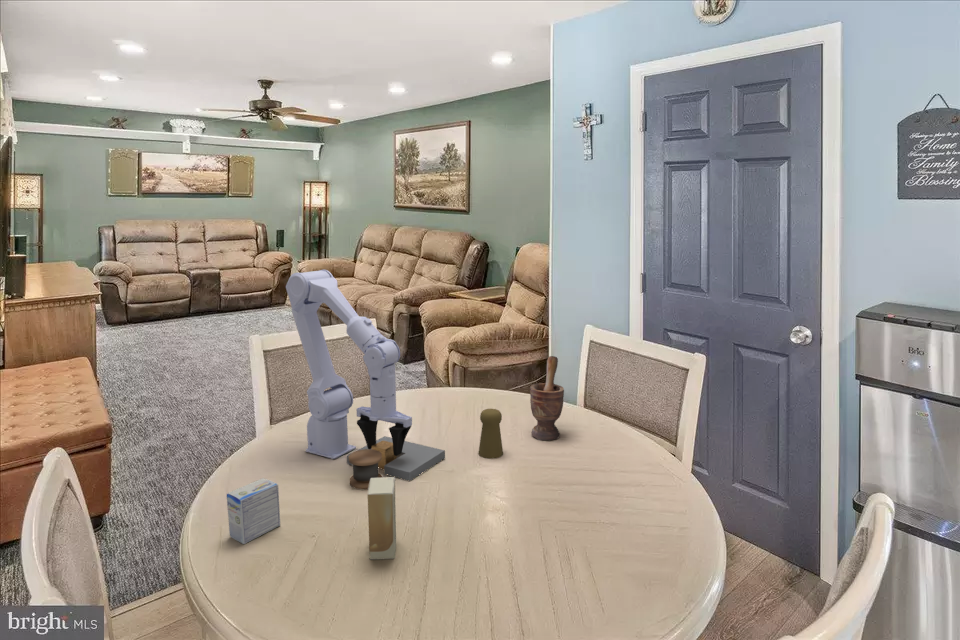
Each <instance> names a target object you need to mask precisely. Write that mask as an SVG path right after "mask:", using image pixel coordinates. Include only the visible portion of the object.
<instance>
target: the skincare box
mask: <svg viewBox="0 0 960 640" xmlns="http://www.w3.org/2000/svg"><path fill="white" fill-rule="evenodd" d="M367 513H368V516H367V517H368V548H369V550H368V551H369V552H368V553H369V560H392V559H395V558H396V551H397V550H396V549H397V519H396V518H397V515H396V514H397V513H396V477H393V476H388V477H387V476H386V477H384V476H382V477H381V478H371V479H370V482H369V487H368V489H367Z"/></svg>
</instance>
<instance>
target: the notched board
mask: <svg viewBox="0 0 960 640" xmlns="http://www.w3.org/2000/svg"><path fill="white" fill-rule="evenodd" d="M383 440H384V441H388V442H391V443H393V441H392V436H390V437H389V436H382V437H380V438H379V439H376V444H377V443H379V442H381V441H383ZM364 449H368V447H367V444H366V445H365V446H363V447H361V448H358V449H357V450H356V451H358V450H364ZM371 449H372V448H371ZM350 454H351V453H349V454H346V464H347V465H350V466H353V464H351V463H350V462H349V455H350ZM444 458H445V459H446V451H445V450H444V449H440V448H437V447H432V446H427V445H424V444H419V443H416V442H413V441H407V440H405V441H404V445H403V449H402V453H401V454H399V455H397V459H395V460H393V461H391V462H390V463H388V464H386V465H384V470H383V471H384V472H383V473H385V474H384V475H386V474H388V475H387V476H390V475H391V476H390V477H393V476H395V478H397V477H399V478H398V479H400V478H402V479H401V480H404V479H405V481H408V480H409V481H408V482H410V480H411V481H412V480H414V479H415V478H417V477H419V476H420V475H421V473H422V472H423V473H425V472H426V471H428V470H429V469H431V468H432V467H434V466H435V465H437V464H438V462H439V463H440V462H441V460H442V459H443V460H445V459H444ZM443 460H442V461H443ZM436 463H437V464H436ZM433 465H434V466H433ZM430 467H431V468H430ZM427 469H428V470H427ZM424 471H425V472H424ZM423 473H422V474H423ZM419 474H420V475H419ZM416 476H417V477H416ZM413 478H414V479H413Z"/></svg>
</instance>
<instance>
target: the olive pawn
mask: <svg viewBox="0 0 960 640" xmlns="http://www.w3.org/2000/svg"><path fill="white" fill-rule="evenodd" d="M502 415H503V414H502V412H501V411H500V410H498V409H496V408H486V409H484V410H482V411H481V412H480V415H479V417H480V418H479V419H480V422H481V423H482V426H481V432H480V439H479V448H478V453H477V454H478V456H479V457H481V458H484V459H491V460H492V459H499V458H501V457H503V455H504V449H503V441H502V440H503V439H502V433H501V427H500V426H501V425H500V424H501V422H502V420H503V419H502V418H503V417H502Z"/></svg>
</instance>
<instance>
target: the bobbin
mask: <svg viewBox="0 0 960 640" xmlns="http://www.w3.org/2000/svg"><path fill="white" fill-rule="evenodd" d="M357 450H358V451H357ZM357 450H355V451H353V452H351V453H349V454H350V455H349V454H348V455H349V462H350V463H351V464H353V465H352V475H351V476H350V477H349V486H351V487H352V488H353V489H358V490H368V487H369V482H370V479H371V478H381V477H383V475H382V474H381V473H379V468H378V462H380V461H381V459H382V454H381V452H379V451H377V450H372V449H364V450H359V449H357Z"/></svg>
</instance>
